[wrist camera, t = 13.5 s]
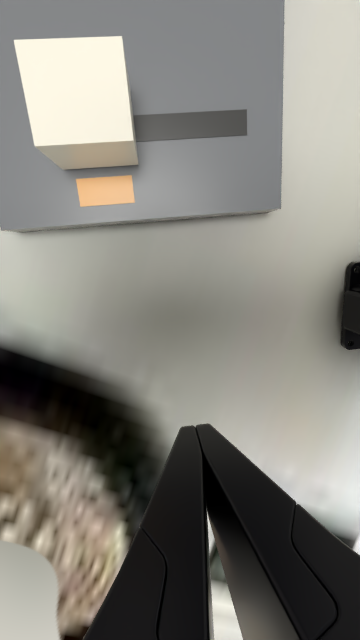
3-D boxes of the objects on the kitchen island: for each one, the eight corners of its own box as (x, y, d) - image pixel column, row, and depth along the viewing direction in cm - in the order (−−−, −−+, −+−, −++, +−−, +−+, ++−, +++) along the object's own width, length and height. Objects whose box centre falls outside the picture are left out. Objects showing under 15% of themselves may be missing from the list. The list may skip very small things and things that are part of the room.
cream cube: (130, 87, 14) (121, 35, 10) (138, 164, 15) (133, 140, 11) (48, 91, 13) (13, 40, 10) (62, 169, 14) (34, 146, 11)
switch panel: (269, -245, 13) (290, -336, 11) (267, 212, 18) (281, 208, 16) (-94, -256, 12) (-145, -359, 10) (18, 232, 17) (0, 230, 15)
